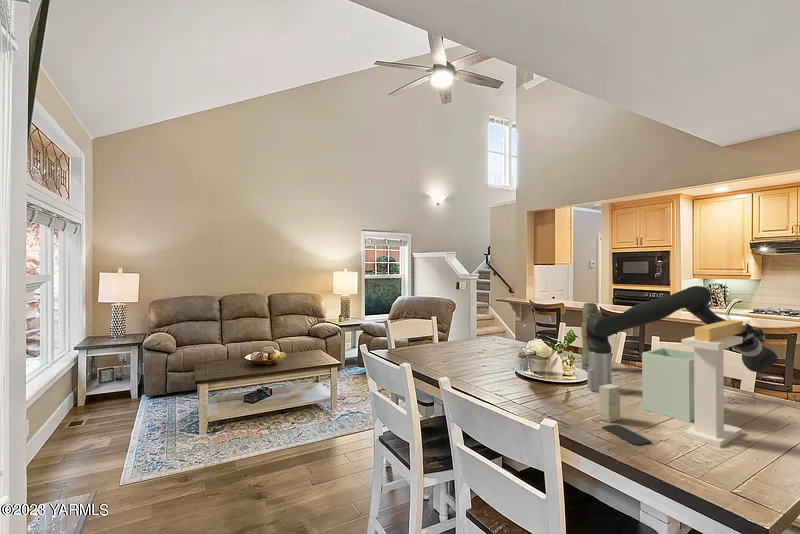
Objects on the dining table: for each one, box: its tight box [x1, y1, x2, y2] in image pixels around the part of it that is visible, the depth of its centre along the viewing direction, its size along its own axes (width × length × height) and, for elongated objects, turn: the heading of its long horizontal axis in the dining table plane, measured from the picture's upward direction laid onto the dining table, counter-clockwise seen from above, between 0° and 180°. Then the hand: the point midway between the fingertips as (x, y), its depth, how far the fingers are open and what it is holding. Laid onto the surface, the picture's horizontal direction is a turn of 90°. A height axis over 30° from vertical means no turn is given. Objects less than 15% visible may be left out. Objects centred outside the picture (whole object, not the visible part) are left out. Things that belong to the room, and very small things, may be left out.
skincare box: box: [598, 384, 621, 423], centre depth 151 cm, size 6×4×12 cm
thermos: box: [580, 302, 599, 371], centre depth 221 cm, size 9×12×35 cm
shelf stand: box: [681, 335, 743, 448], centre depth 136 cm, size 20×10×32 cm, turn 123°
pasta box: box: [694, 319, 744, 342], centre depth 139 cm, size 28×4×4 cm, turn 123°
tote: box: [641, 347, 695, 423], centre depth 158 cm, size 16×16×22 cm
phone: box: [601, 424, 653, 446], centre depth 137 cm, size 7×1×15 cm
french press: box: [517, 324, 529, 371], centre depth 215 cm, size 10×12×25 cm
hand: (731, 324), depth 145 cm, fingers open, 8 cm apart
